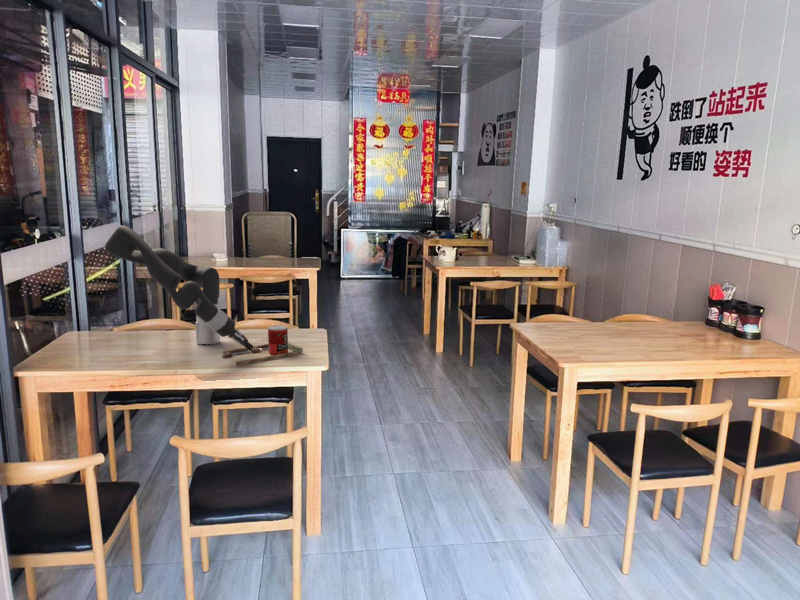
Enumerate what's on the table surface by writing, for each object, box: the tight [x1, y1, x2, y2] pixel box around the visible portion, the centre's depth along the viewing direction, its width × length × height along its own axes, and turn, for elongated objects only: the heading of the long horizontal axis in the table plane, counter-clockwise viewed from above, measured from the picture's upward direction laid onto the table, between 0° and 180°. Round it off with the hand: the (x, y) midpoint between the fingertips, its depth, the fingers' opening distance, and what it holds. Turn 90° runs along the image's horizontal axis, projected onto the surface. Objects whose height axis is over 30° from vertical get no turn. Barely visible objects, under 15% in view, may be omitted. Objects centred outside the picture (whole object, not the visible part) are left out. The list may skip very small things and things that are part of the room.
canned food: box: [267, 324, 289, 356], centre depth 245 cm, size 8×8×11 cm
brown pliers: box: [221, 341, 304, 367], centre depth 244 cm, size 28×20×2 cm
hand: (251, 348), depth 238 cm, fingers closed
